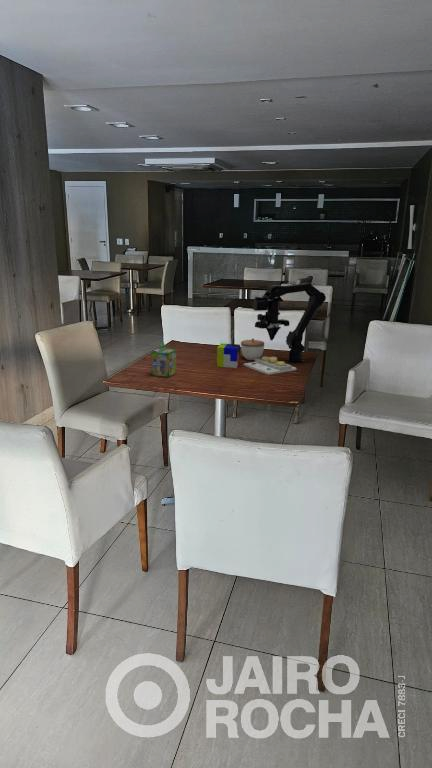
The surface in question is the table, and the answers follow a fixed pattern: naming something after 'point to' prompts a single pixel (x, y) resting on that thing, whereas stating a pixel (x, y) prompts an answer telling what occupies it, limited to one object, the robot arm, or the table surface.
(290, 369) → the board
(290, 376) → the table surface
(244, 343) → the lidded bowl
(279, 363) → the button
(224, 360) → the puzzle toy
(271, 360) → the button mid
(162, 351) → the green patterned box
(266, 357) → the button
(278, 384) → the table surface
